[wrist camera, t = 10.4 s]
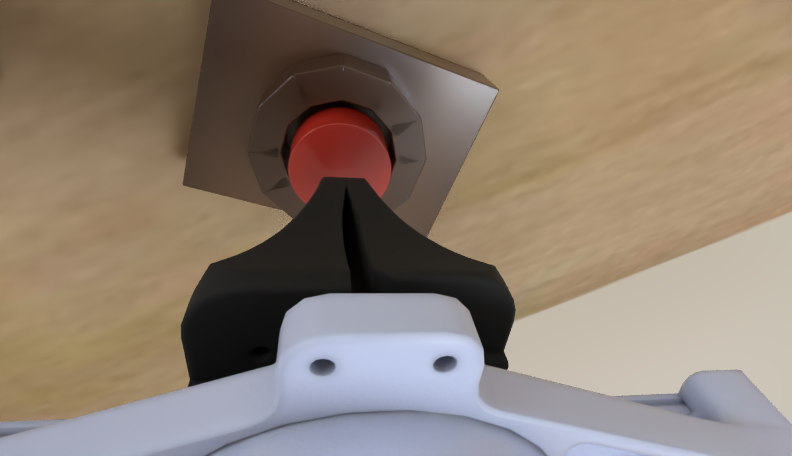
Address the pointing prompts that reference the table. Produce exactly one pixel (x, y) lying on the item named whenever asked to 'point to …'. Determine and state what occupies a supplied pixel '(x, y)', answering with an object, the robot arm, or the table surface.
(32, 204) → the table surface
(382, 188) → the button
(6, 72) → the table surface
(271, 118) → the button block
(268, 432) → the robot arm
